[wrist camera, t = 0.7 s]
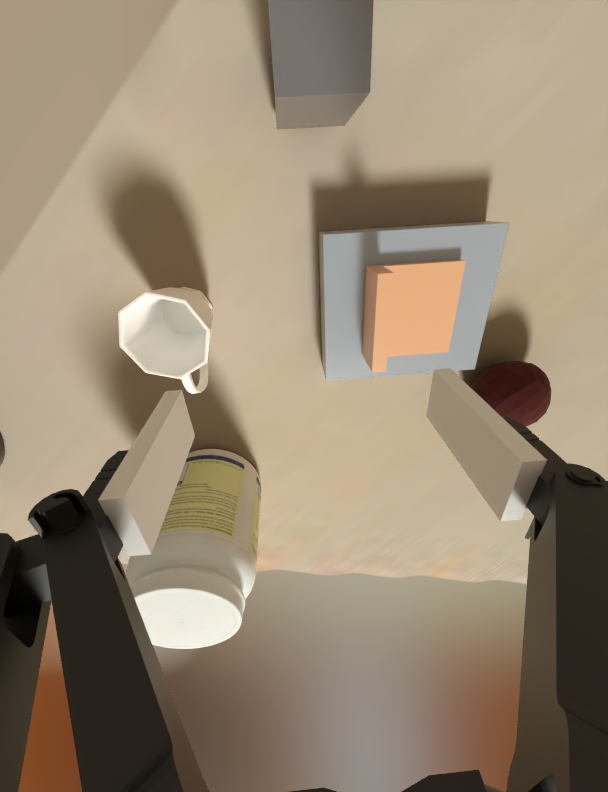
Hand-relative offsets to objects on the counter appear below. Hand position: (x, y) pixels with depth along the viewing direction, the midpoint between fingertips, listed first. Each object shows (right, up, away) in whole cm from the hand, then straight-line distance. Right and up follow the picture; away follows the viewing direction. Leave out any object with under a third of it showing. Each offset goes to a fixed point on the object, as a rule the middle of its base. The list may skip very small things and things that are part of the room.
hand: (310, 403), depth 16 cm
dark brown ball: (+21, +2, +22) cm, 30 cm away
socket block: (+9, +10, +16) cm, 21 cm away
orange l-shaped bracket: (+9, +8, +13) cm, 18 cm away
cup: (-11, +8, +16) cm, 21 cm away
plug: (0, +23, +8) cm, 24 cm away
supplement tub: (-12, -11, +27) cm, 31 cm away
